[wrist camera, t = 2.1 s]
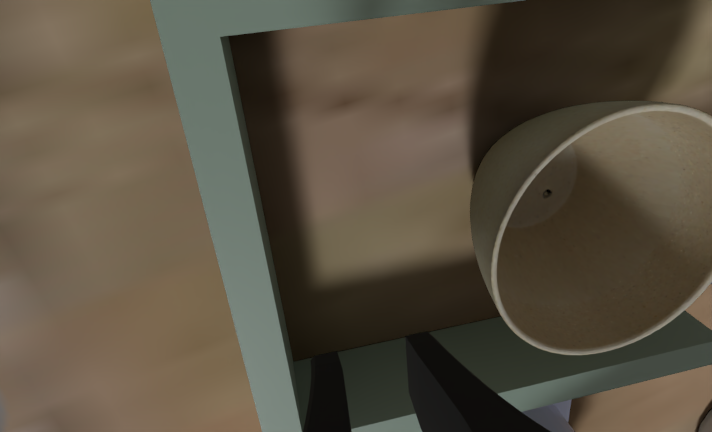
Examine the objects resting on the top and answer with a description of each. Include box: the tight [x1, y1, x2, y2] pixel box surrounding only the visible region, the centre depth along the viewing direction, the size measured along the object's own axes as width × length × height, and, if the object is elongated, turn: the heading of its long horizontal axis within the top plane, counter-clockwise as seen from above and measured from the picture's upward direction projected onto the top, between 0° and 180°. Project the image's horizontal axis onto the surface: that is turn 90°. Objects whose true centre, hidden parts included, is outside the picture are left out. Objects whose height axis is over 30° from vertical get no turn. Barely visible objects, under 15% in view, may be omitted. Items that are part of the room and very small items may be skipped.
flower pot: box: [470, 101, 712, 355], centre depth 20 cm, size 10×10×7 cm
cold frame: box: [150, 0, 712, 432], centre depth 21 cm, size 20×23×5 cm
